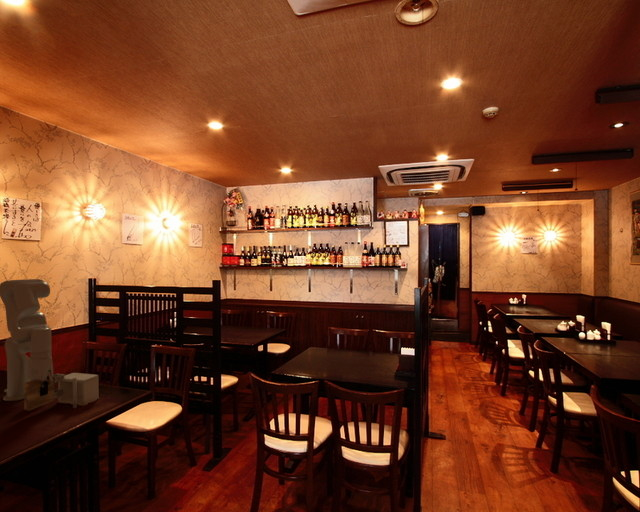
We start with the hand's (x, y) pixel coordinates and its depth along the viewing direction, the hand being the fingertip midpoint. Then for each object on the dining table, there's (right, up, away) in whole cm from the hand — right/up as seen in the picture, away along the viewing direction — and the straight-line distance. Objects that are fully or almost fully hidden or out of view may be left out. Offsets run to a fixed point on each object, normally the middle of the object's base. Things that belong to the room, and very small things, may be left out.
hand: (40, 394), depth 161 cm
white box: (+8, -8, +11) cm, 16 cm away
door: (0, -5, +2) cm, 5 cm away
